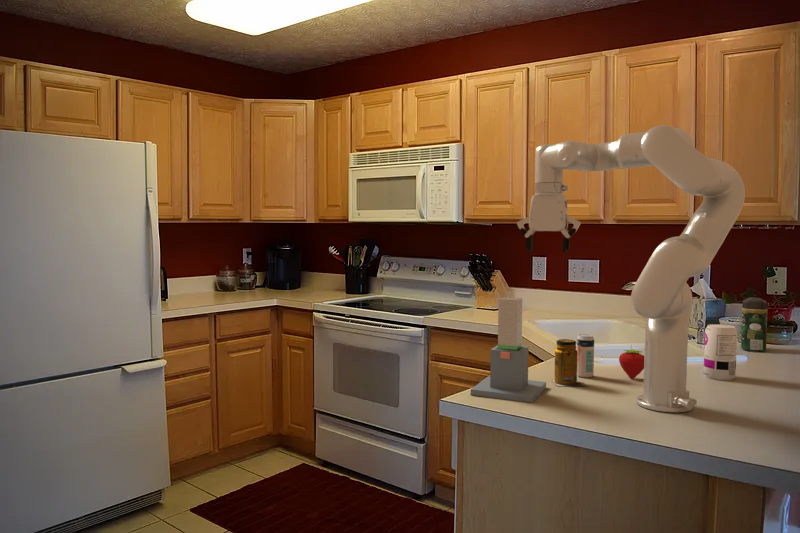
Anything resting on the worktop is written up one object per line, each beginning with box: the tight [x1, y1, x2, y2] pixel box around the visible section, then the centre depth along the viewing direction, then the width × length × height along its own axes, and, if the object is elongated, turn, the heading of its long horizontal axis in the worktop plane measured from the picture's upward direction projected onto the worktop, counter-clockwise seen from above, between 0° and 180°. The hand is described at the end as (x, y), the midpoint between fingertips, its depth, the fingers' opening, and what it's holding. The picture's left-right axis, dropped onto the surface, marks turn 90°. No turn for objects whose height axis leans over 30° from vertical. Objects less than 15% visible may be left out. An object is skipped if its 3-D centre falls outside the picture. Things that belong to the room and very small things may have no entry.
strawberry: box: [618, 344, 644, 380], centre depth 175 cm, size 6×8×10 cm
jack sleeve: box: [470, 345, 547, 404], centre depth 161 cm, size 16×16×12 cm
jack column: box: [496, 296, 523, 351], centre depth 161 cm, size 5×5×17 cm
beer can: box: [576, 333, 595, 379], centre depth 178 cm, size 5×5×12 cm
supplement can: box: [703, 323, 738, 381], centre depth 177 cm, size 8×8×15 cm
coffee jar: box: [740, 296, 768, 353], centre depth 217 cm, size 10×8×19 cm
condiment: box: [550, 338, 588, 387], centre depth 170 cm, size 7×8×12 cm
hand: (547, 252), depth 170 cm, fingers open, 9 cm apart
